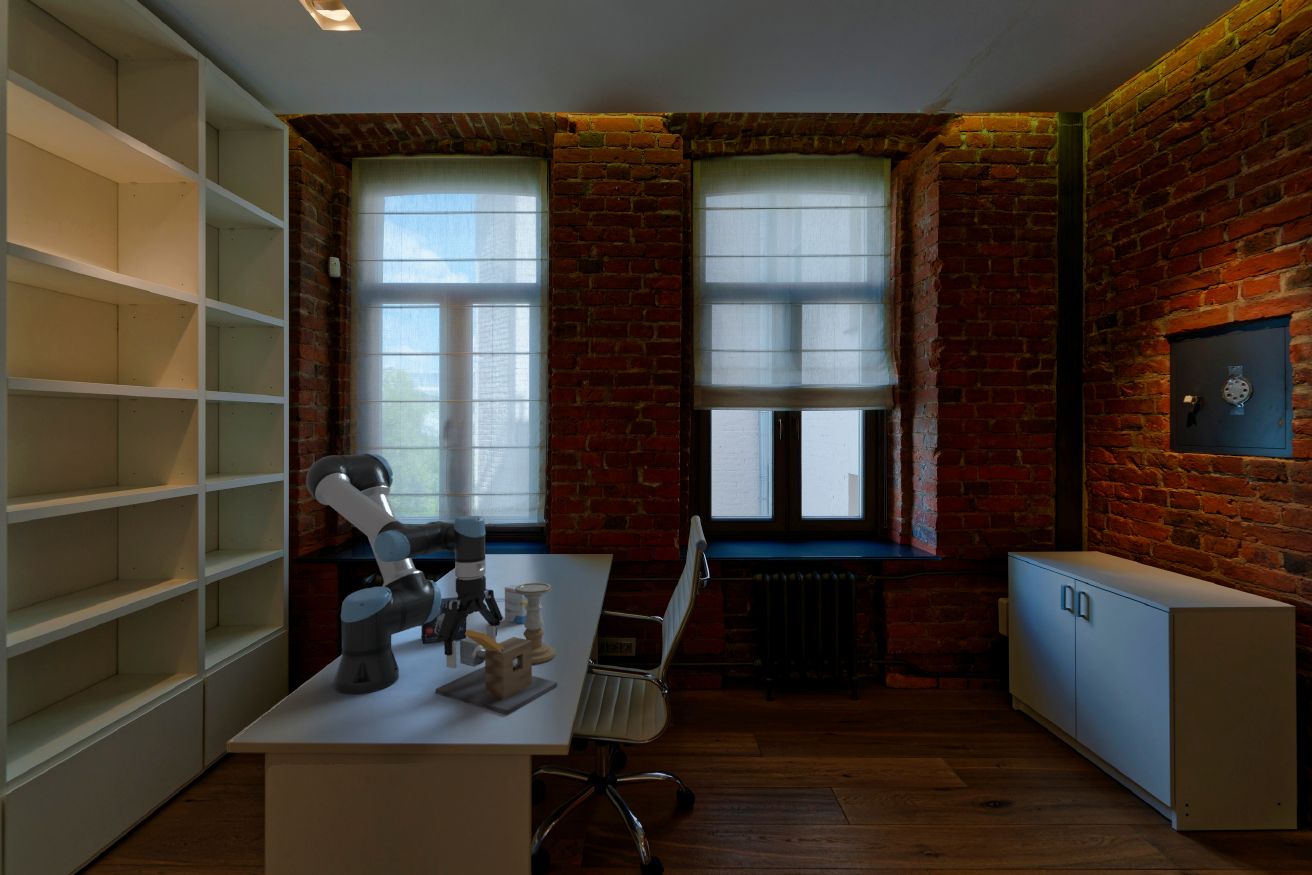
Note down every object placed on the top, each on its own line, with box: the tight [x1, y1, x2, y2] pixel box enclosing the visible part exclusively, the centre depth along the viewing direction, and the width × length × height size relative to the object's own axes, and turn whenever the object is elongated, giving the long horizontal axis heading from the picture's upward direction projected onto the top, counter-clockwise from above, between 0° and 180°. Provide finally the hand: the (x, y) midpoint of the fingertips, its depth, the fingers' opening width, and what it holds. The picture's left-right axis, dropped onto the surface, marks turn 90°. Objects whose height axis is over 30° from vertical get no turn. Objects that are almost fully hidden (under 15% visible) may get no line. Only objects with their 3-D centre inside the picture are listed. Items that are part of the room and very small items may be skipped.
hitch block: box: [434, 636, 558, 716], centre depth 154 cm, size 24×18×12 cm
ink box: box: [504, 581, 528, 625], centre depth 212 cm, size 8×8×12 cm
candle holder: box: [515, 582, 556, 665], centre depth 177 cm, size 12×12×20 cm
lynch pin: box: [459, 636, 520, 668], centre depth 155 cm, size 18×5×6 cm, turn 60°
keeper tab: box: [465, 629, 504, 652], centre depth 145 cm, size 6×9×1 cm
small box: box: [420, 596, 467, 645], centre depth 192 cm, size 13×7×12 cm, turn 114°
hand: (472, 658), depth 158 cm, fingers open, 13 cm apart
